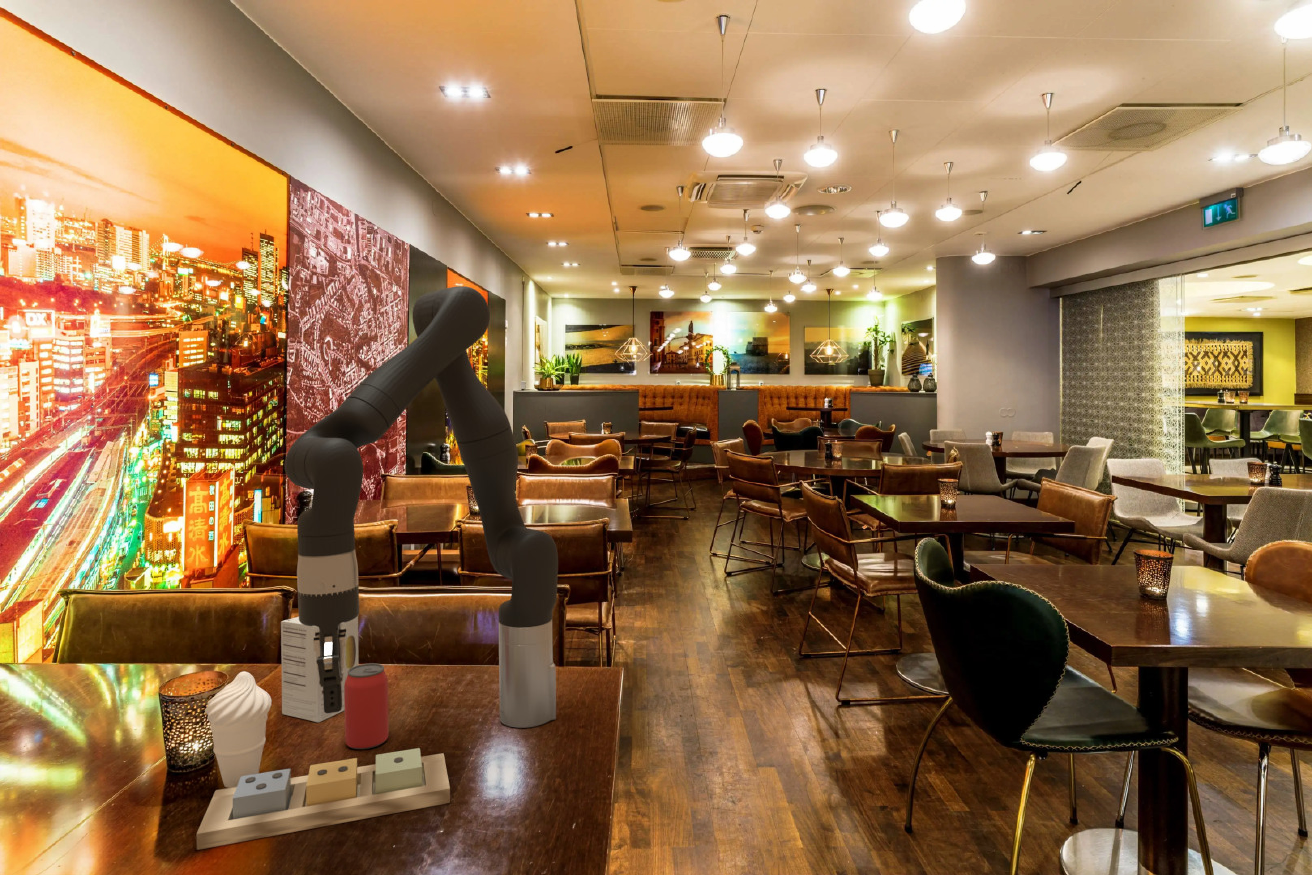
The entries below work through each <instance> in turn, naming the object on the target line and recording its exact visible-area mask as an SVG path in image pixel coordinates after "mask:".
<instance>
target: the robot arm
mask: <svg viewBox="0 0 1312 875" xmlns="http://www.w3.org/2000/svg"><path fill="white" fill-rule="evenodd" d="M411 314H412V316H411V317H412V324H413V327H414V328H413V329H414V331H415V334H416V338H415V339H414V340H413V341H412V342H411V343H410V344H408V345H406V347H405V348H403V349H402V350H401V351H398V353H397V354H395V355H393V356H392V357H391V358H389V359H388V360H386V361H385V362H383V363H382V364H381V365H379V366H378V367H377V368H376V369H374V370H373V371H372V372H371V373H370V374H368V375H367V377H365V378H364V379H363V380H362V381H361V382H360V383H359V385H357V386H356V388H355V389H353V390H352V392H351V393H350V394H349V395H348V396H347V397H346V398H345V400H344V401H342V403H341V404H340V405H339V406H338V407H337V408H336V409H335V410H333V411H332V412H330V413H329V414H327V416H325V417H323V418H322V419H321V420H319V421H318V422H317V423H315V424H314V425H312V426H311V427H310V428H309V429H308V430H306V431H305V432H304V433H302V434H301V435H300V436H299V437H298V438H297V439H296V440H295V441H294V442H293V444H292V445H291V446H290V447H289V449H288V451H287V453H286V455H285V460H284V471H285V475H286V477H287V478H288V479H289V480H290V482H292V483H293V484H294V485H296V486H298V487H300V488H304V489H307V490H308V489H310V490H313V492H312V499H311V507H310V508H308V509H307V510H304V511H302V512H301V513H300V515H299V516H298V518H297V530H296V531H297V552H298V553H297V554H298V556H297V558H298V559H297V568H296V577H297V582H296V583H297V604H298V605H297V606H298V607H297V609H298V610H297V611H298V617H299V621H300V623H302V624H303V625H306V626H317V627H319V632H315V638H314V640H313V643H314V651H315V652H316V663H317V671H319V678H320V680H319V684H320V685H321V687H323V699H324V712H325V713H333V712H339V711H340V710H341V709H342V686H341V684H342V681H343V673H342V671H343V668H344V666H345V658H346V656H345V647H346V639H347V629H341V628H340V623H342V622H348V621H351V620H353V619H355V618H356V617H357V616H358V617H359V615H360V594H359V593H360V591H359V590H360V589H359V567H358V566H359V565H358V560H357V555H356V539H355V537H356V536H355V516H356V512H357V508H358V504H359V500H360V494H361V491H362V486H363V485H362V484H363V480H364V464H363V463H364V462H363V460H362V456H361V453H360V452H359V449H360V448H362V447H363V446H366V445H371V444H374V443H375V442H377V441H379V440H380V439H381V438H382V437H383V436H384V435H385V434H386V432H388V430H389V429H390V428H391V427H392V425H393V424H394V423H395V422H396V421H397V419H398V418H400V417H401V415H402V414H404V412H405V410H406V409H407V408H408V407H409V406H410V405H411V403H412V402H413V401H414V400H415V399H416V398H417V397H418V395H419V394H420V393H421V392H422V391H423V390H425V388H426V387H427V386H428V385H429V384H430V383H431V382H432V381H433V380H434V379H435V381H436V384H437V387H438V389H439V392H440V395H441V398H442V401H443V404H444V406H445V409H446V412H447V415H448V418H449V421H450V424H451V428H452V431H453V434H454V439H455V442H456V445H457V448H458V451H459V454H460V457H461V461H462V463H463V466H464V468H465V471H466V473H467V478H468V480H469V483H470V486H471V489H472V493H473V497H474V499H475V502H476V505H477V508H478V511H479V515H480V520H481V525H482V529H483V534H484V539H485V540H484V541H485V543H486V549H487V555H488V557H489V561H490V564H491V565H492V567H493V570H494V571H495V572H497V573H498V574H499V575H500V576H501V577H504V578H505V579H508V580H511V595H510V596H511V597H510V599H508V600H506V601H504V602H502V603H501V604H500V606H498V656H499V657H498V668H499V669H498V673H499V674H498V675H499V682H498V684H499V688H498V689H499V690H498V691H499V707H498V708H499V721H500V722H501V723H502V725H505V726H507V727H511V728H517V729H519V728H520V729H522V728H525V729H526V728H532V727H538V726H541V725H544V724H546V723H548V722H550V721H554V720H555V721H556V720H557V688H556V687H557V684H556V682H557V678H556V676H557V675H556V673H557V671H556V664H555V663H554V660H553V658H554V656H553V654H554V653H553V610H554V608H555V606H556V602H557V596H558V577H559V576H558V575H559V573H558V572H559V554H558V548H557V543H556V542H555V540H554V538H553V537H552V536H551V535H550V534H549V533H548V532H545V531H543V530H538V529H532V528H528V527H527V526H526V525H525V522H524V520H523V517H522V515H521V512H520V508H519V506H518V503H517V498H516V481H517V475H518V469H519V468H518V467H519V452H518V451H519V450H518V447H517V446H518V445H517V442H516V439H515V436H514V433H513V430H512V426H511V423H510V420H509V418H508V416H507V413H506V411H505V410H504V409H503V407H502V406H501V404H500V403H499V402H498V400H497V399H496V398H495V397H494V396H493V395H492V393H491V392H490V391H489V390H488V389H487V388H486V386H485V385H484V384H483V382H482V381H481V380H480V378H479V377H478V376H477V374H476V373H475V371H474V369H473V367H472V364H471V360H470V359H469V355H468V352H467V350H469V348H471V347H472V346H473V345H474V344H475V343H476V342H478V341H480V339H482V337H483V336H484V335H485V333H486V332H487V330H488V328H489V325H490V319H491V312H490V307H489V304H488V302H487V300H486V299H485V297H484V296H483V295H482V293H480V292H479V291H478V290H477V289H475V288H473V287H469V286H461V285H460V286H456V285H455V286H452V287H445V288H441V289H438V290H434V291H430V292H427V293H424V294H422V295H421V296H419V297H418V298H417V300H416V301H415V303H414V305H413V308H412V313H411Z"/></svg>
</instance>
